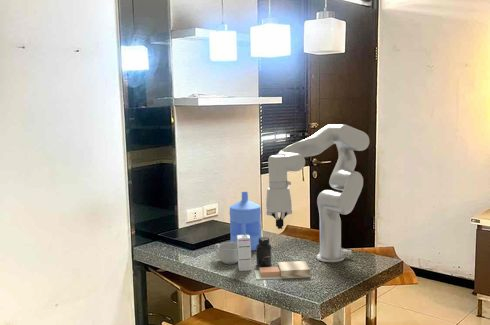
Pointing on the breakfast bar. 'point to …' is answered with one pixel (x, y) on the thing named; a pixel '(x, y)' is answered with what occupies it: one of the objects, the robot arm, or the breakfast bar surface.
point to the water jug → (246, 220)
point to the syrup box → (244, 252)
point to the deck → (293, 269)
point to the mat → (258, 277)
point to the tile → (269, 271)
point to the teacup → (227, 252)
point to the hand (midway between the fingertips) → (279, 228)
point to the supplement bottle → (263, 252)
